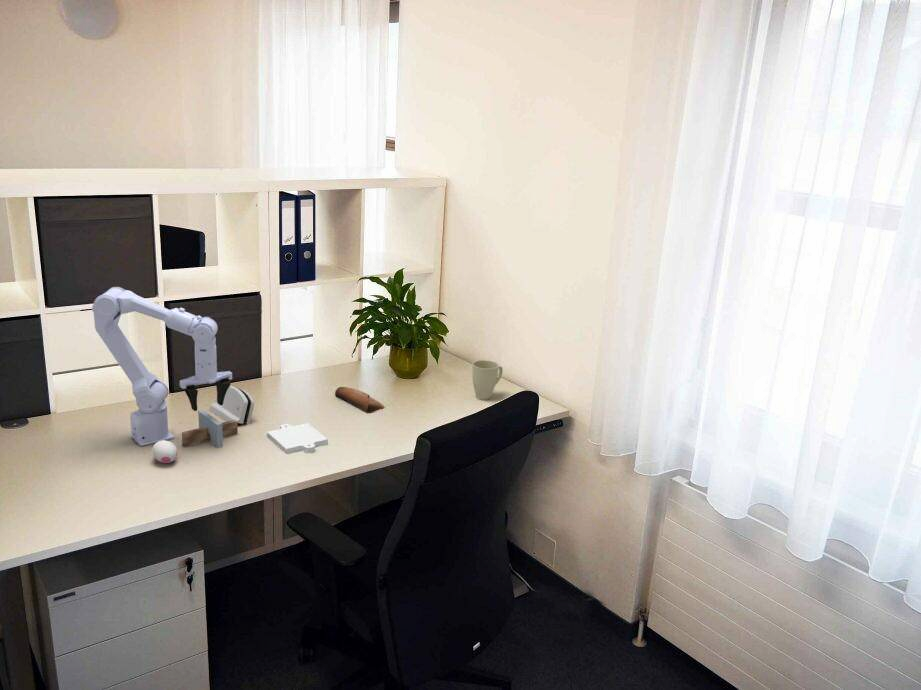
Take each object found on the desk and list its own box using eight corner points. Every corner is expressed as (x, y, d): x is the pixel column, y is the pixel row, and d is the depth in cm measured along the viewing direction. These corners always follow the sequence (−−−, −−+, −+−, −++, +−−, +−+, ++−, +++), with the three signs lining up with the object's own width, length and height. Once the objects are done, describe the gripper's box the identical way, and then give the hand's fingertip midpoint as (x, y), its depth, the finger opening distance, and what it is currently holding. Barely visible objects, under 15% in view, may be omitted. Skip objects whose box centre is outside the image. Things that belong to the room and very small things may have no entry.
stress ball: (178, 475, 208) (191, 453, 209) (152, 466, 203) (166, 444, 203) (167, 463, 214) (180, 442, 214) (142, 454, 208) (155, 433, 208)
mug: (497, 403, 263) (500, 370, 260) (468, 400, 265) (470, 367, 261) (500, 392, 274) (503, 360, 270) (473, 389, 275) (475, 357, 271)
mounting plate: (331, 448, 223) (331, 442, 223) (290, 458, 216) (290, 452, 215) (303, 425, 237) (303, 420, 236) (263, 434, 229) (263, 428, 229)
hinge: (208, 409, 243) (217, 379, 242) (222, 411, 246) (231, 381, 246) (235, 427, 231) (244, 396, 231) (248, 429, 235) (258, 397, 234)
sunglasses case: (388, 407, 254) (380, 393, 250) (373, 422, 251) (365, 407, 247) (354, 391, 266) (346, 377, 262) (340, 404, 263) (331, 390, 259)
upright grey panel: (217, 447, 218) (216, 424, 216) (199, 432, 227) (198, 410, 224) (222, 446, 219) (222, 423, 217) (204, 431, 227) (203, 409, 225)
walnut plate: (184, 447, 217) (183, 434, 216) (182, 445, 218) (181, 432, 217) (237, 433, 228) (237, 421, 226) (235, 432, 229) (235, 419, 227)
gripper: (186, 370, 209) (188, 417, 213) (236, 361, 218) (237, 406, 222) (175, 362, 214) (177, 408, 218) (225, 354, 223) (226, 398, 227)
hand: (207, 406), depth 220 cm, fingers open, 7 cm apart
